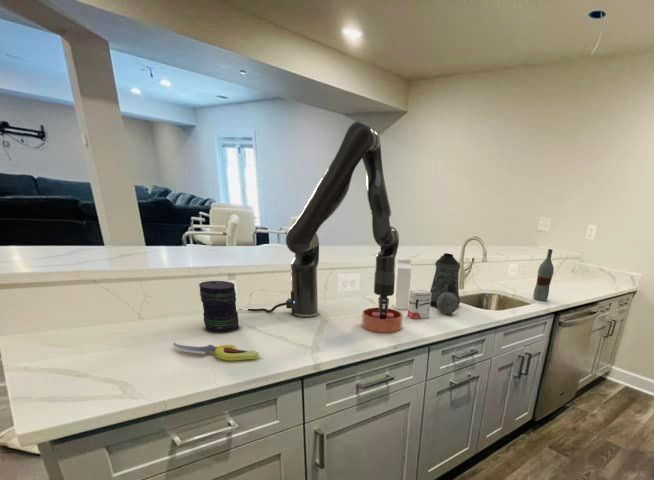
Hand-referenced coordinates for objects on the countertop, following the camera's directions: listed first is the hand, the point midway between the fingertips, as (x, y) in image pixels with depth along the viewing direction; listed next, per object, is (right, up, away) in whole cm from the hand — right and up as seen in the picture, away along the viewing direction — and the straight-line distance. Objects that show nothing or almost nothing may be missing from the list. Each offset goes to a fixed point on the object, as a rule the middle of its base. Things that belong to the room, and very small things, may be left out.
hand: (382, 324), depth 151 cm
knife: (-40, -13, -41) cm, 58 cm away
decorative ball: (+24, +8, +29) cm, 38 cm away
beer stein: (+21, +14, +43) cm, 50 cm away
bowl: (0, -1, 0) cm, 1 cm away
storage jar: (-49, -4, -22) cm, 54 cm away
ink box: (+12, +5, +18) cm, 23 cm away
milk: (+3, +11, +28) cm, 30 cm away
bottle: (+79, +23, +84) cm, 118 cm away
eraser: (0, 0, 0) cm, 0 cm away
